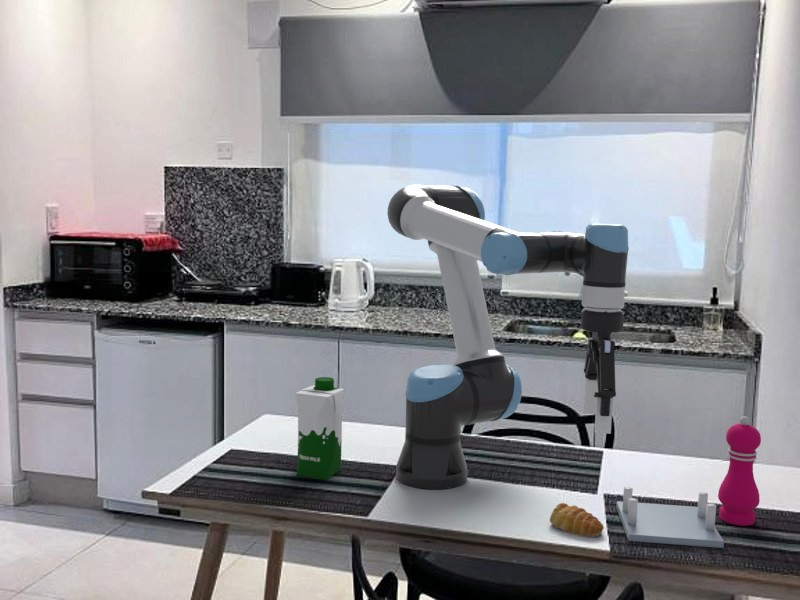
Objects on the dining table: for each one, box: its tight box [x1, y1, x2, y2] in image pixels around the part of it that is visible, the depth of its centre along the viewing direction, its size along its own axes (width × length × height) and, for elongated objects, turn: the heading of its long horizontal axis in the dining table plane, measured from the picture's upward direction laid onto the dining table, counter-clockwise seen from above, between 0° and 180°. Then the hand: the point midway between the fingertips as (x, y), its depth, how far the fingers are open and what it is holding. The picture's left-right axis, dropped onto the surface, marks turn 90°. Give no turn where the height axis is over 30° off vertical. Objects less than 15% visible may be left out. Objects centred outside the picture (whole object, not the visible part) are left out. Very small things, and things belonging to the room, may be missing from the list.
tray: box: [615, 486, 725, 549], centre depth 150 cm, size 16×16×6 cm
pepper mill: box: [717, 415, 762, 527], centre depth 153 cm, size 7×7×20 cm
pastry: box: [549, 502, 605, 538], centre depth 148 cm, size 9×7×4 cm
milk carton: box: [295, 376, 345, 481], centre depth 173 cm, size 9×9×20 cm
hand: (596, 422), depth 151 cm, fingers open, 13 cm apart
